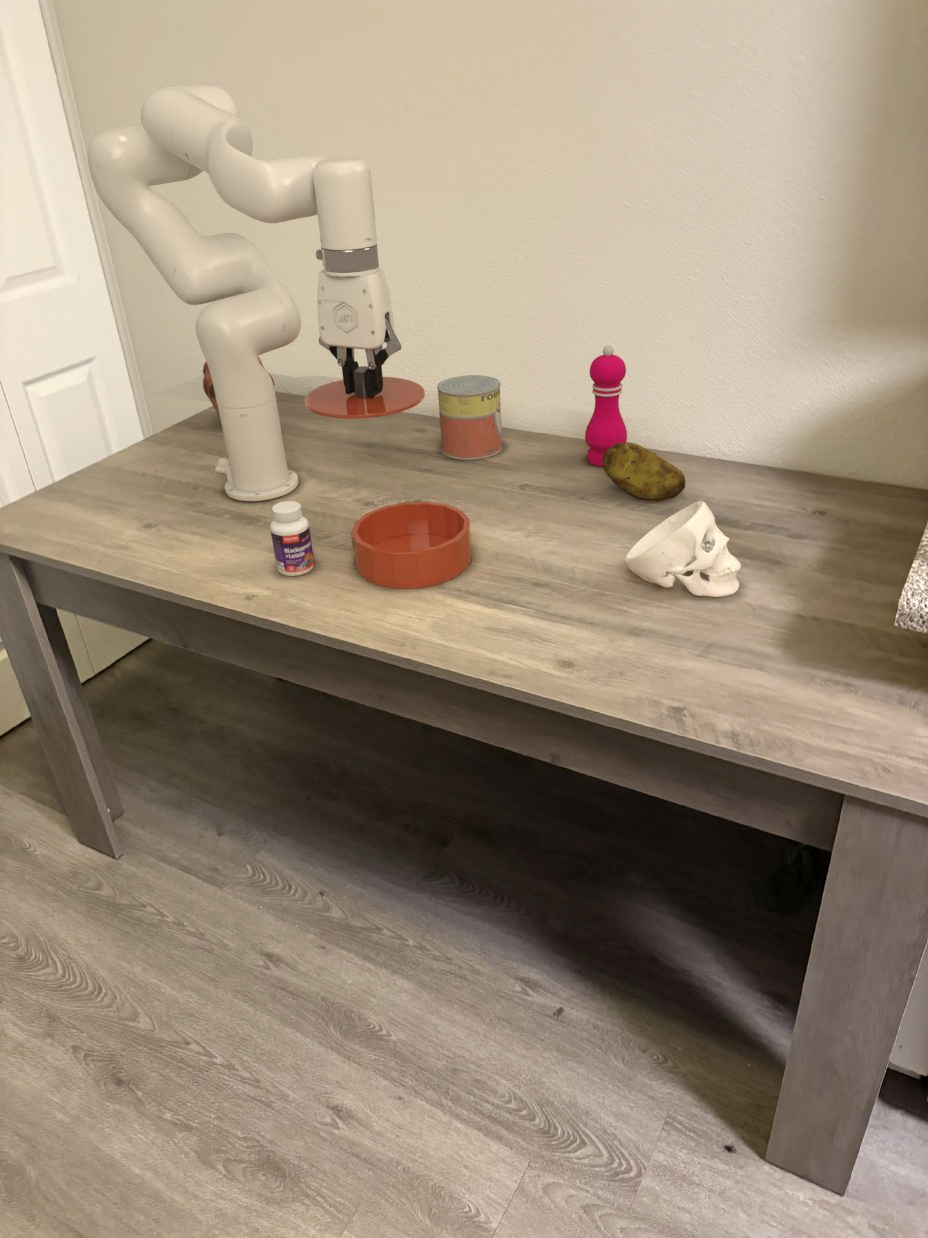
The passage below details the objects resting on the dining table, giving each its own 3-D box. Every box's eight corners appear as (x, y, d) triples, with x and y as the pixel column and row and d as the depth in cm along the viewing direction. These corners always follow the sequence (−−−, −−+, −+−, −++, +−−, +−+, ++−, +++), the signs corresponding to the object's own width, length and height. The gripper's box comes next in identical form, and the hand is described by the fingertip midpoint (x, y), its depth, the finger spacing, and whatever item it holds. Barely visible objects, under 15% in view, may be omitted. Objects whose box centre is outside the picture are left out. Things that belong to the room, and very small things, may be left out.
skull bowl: (745, 602, 115) (698, 519, 112) (650, 634, 124) (605, 558, 121) (762, 564, 123) (719, 486, 120) (672, 597, 131) (630, 524, 129)
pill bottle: (289, 581, 129) (278, 518, 124) (270, 568, 133) (259, 506, 128) (322, 568, 132) (312, 506, 127) (303, 556, 136) (293, 495, 131)
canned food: (503, 458, 165) (501, 392, 158) (440, 461, 165) (435, 395, 159) (501, 436, 174) (499, 373, 168) (442, 439, 175) (438, 376, 168)
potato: (660, 512, 142) (663, 463, 138) (593, 492, 150) (594, 446, 146) (690, 495, 147) (693, 447, 143) (623, 476, 155) (625, 431, 150)
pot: (334, 576, 130) (329, 541, 127) (392, 528, 142) (388, 495, 139) (439, 597, 123) (436, 560, 120) (489, 544, 136) (488, 510, 133)
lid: (280, 414, 132) (275, 380, 129) (346, 378, 145) (343, 347, 142) (387, 429, 125) (383, 393, 122) (445, 390, 138) (444, 357, 136)
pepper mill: (629, 454, 163) (634, 340, 153) (621, 469, 157) (626, 352, 147) (589, 451, 165) (591, 338, 155) (580, 466, 159) (581, 350, 149)
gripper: (285, 262, 125) (303, 394, 135) (389, 268, 118) (400, 406, 128) (315, 252, 131) (331, 379, 140) (416, 257, 124) (425, 390, 134)
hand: (364, 391), depth 134 cm, fingers closed on lid, 3 cm apart
